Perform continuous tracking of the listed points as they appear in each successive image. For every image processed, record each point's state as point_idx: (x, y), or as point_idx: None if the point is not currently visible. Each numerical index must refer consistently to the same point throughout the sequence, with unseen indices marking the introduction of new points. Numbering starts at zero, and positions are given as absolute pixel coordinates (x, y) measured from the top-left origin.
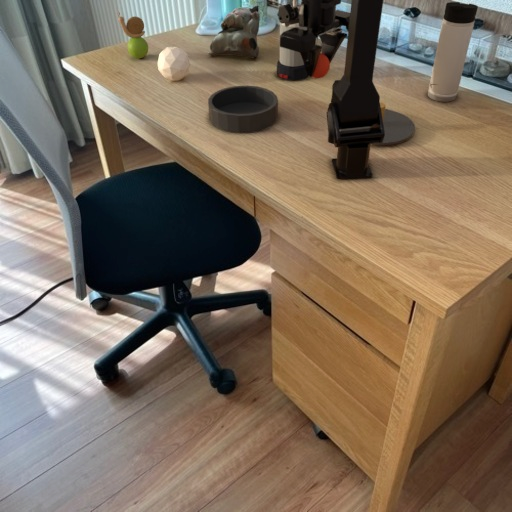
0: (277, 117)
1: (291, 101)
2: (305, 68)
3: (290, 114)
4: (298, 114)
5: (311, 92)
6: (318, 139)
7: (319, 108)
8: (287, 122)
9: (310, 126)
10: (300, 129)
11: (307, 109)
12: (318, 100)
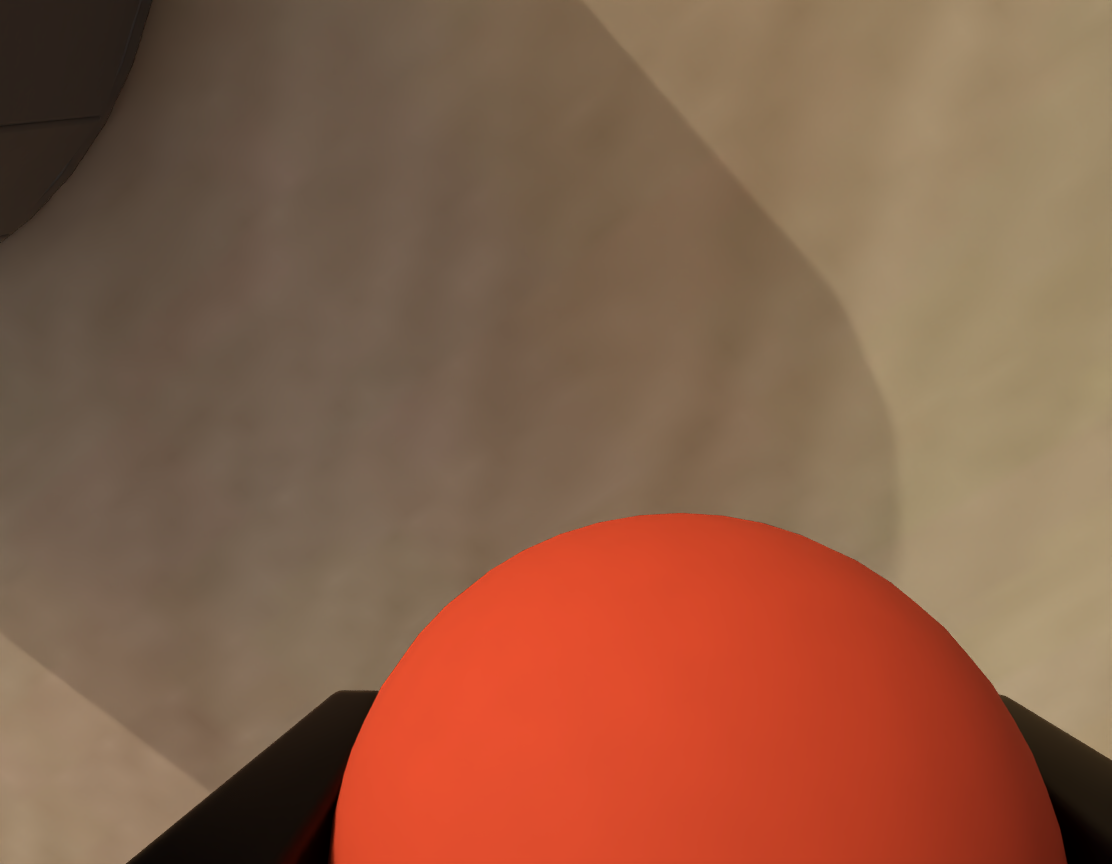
0: (25, 222)
1: (570, 13)
2: (217, 794)
3: (239, 289)
4: (317, 371)
5: (1043, 51)
6: (58, 853)
7: (641, 471)
8: (53, 403)
9: (195, 655)
10: (57, 617)
11: (514, 371)
12: (845, 316)
